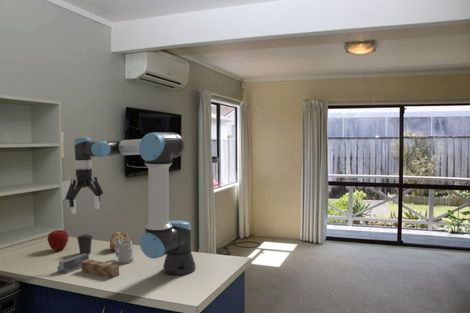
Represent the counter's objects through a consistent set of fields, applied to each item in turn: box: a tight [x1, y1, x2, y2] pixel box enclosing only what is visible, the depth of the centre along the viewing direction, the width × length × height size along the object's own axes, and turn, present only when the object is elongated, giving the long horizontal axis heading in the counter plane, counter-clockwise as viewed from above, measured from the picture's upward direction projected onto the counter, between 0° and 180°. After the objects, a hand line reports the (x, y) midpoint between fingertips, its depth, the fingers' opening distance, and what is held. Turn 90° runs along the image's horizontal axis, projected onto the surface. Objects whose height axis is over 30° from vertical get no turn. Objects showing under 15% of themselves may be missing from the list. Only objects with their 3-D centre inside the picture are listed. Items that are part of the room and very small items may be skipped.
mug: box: [114, 236, 135, 264], centre depth 196 cm, size 8×12×12 cm, turn 57°
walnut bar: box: [81, 258, 120, 279], centre depth 179 cm, size 20×4×5 cm, turn 62°
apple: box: [47, 229, 69, 251], centre depth 216 cm, size 11×11×12 cm
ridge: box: [57, 254, 90, 274], centre depth 186 cm, size 6×14×5 cm, turn 149°
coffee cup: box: [76, 234, 93, 255], centre depth 209 cm, size 8×8×10 cm
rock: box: [109, 231, 130, 251], centre depth 216 cm, size 12×10×10 cm
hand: (85, 211), depth 192 cm, fingers open, 13 cm apart
